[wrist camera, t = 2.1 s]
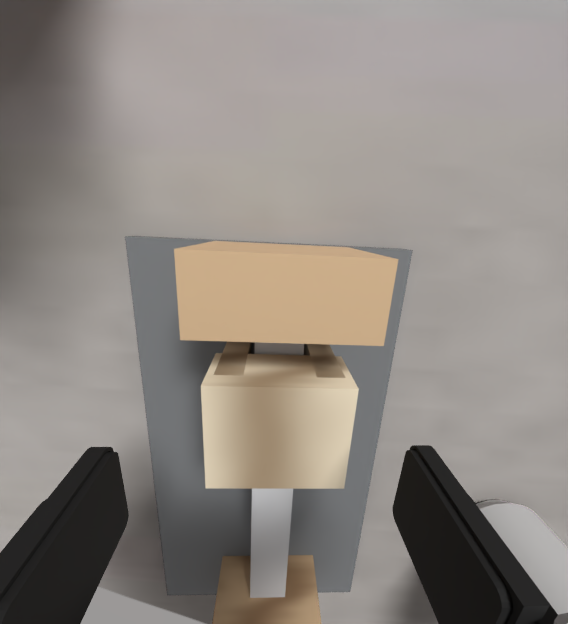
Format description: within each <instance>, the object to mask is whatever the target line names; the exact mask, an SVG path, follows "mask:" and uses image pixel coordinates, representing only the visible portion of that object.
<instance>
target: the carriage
mask: <svg viewBox="0 0 568 624" xmlns="http://www.w3.org/2000/svg"><path fill="white" fill-rule="evenodd" d="M251 343H252V342H227V343H226V345H225V348H224V350H223V353H216V354H215V356H214V358H213V360H212V363H211V365H210V367H209V369H208V371H207V373H206V376H205V378H204V380H203V382H202V384H201V402H202V424H203V445H204V466H205V488H241V489H344V486H345V479H346V473H347V466H348V459H349V452H350V446H351V439H352V432H353V425H354V419H355V412H356V405H357V398H358V391H359V389H358V387H357V385H356V383H355V381H354V379H353V377H352V375H351V374H350V372H349V370H348V368H347V366H346V364H345V362H344V361H343V359H342V357H341V356H335V355H334V353H333V351H332V349H331V347H330V345H329V344H304V354H303V355H269V354H251Z"/></svg>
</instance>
